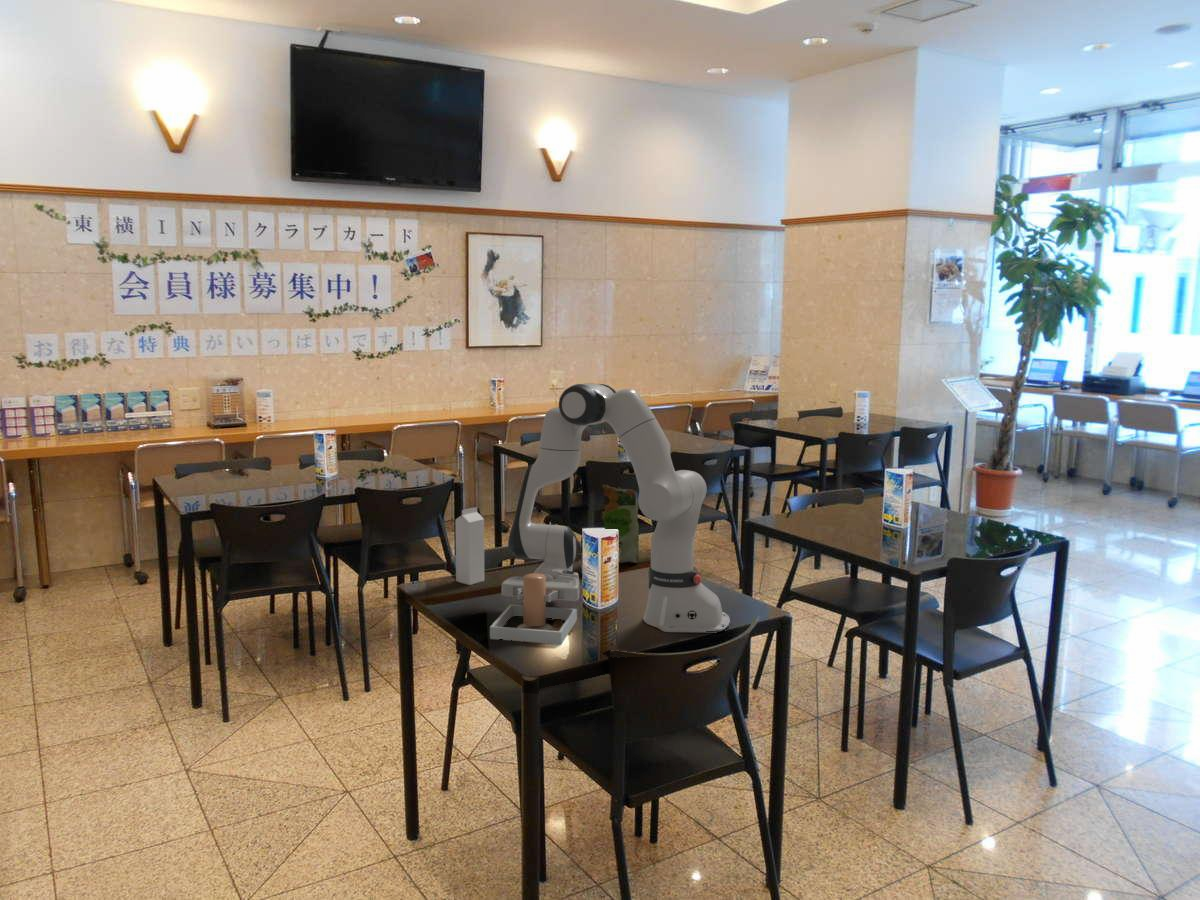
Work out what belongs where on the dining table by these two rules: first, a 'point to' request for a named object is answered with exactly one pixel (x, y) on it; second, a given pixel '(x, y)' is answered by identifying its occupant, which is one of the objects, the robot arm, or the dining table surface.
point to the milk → (469, 547)
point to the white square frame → (532, 634)
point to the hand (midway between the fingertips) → (533, 598)
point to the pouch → (623, 520)
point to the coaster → (537, 627)
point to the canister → (534, 599)
